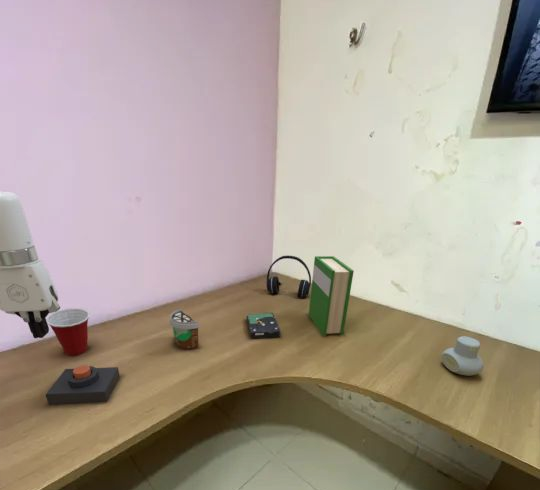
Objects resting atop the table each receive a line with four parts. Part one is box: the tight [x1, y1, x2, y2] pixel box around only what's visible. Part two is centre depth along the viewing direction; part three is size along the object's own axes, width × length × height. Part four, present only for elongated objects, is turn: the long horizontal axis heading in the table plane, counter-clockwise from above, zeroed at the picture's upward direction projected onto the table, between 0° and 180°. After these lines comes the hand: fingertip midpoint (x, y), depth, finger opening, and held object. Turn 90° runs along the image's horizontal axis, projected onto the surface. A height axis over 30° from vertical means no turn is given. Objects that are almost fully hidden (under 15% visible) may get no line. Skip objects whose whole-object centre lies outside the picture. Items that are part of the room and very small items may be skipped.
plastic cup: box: [45, 307, 90, 356], centre depth 92 cm, size 11×11×12 cm
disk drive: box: [246, 312, 281, 339], centre depth 112 cm, size 10×3×15 cm
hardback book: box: [308, 255, 355, 337], centre depth 112 cm, size 18×7×24 cm, turn 11°
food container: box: [169, 308, 200, 350], centre depth 98 cm, size 12×6×10 cm, turn 40°
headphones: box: [266, 255, 312, 298], centre depth 139 cm, size 20×7×18 cm, turn 77°
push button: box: [73, 364, 91, 379], centre depth 76 cm, size 4×4×2 cm
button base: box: [45, 365, 121, 406], centre depth 77 cm, size 13×10×5 cm
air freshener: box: [441, 335, 485, 377], centre depth 92 cm, size 11×8×10 cm
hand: (41, 335), depth 71 cm, fingers closed
